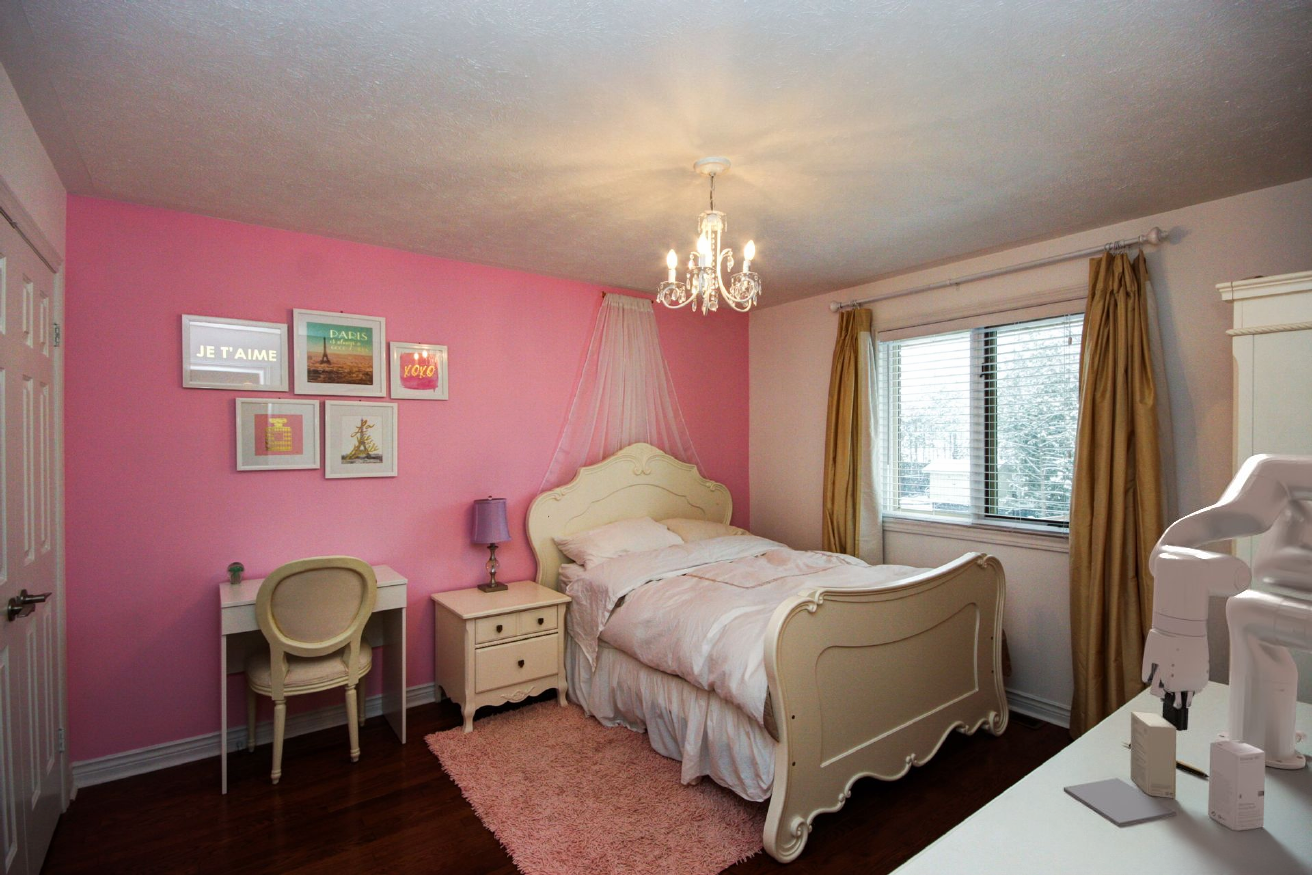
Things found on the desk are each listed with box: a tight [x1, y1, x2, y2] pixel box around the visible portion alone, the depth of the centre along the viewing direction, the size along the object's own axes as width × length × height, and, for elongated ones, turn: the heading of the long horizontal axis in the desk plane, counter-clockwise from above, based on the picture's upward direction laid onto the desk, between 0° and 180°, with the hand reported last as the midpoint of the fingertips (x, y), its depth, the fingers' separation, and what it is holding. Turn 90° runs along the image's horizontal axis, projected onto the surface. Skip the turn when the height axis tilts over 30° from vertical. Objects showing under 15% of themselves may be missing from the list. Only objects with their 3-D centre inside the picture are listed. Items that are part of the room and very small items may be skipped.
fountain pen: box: [1121, 741, 1209, 779], centre depth 121 cm, size 14×1×2 cm, turn 29°
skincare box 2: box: [1207, 740, 1266, 831], centre depth 102 cm, size 6×4×12 cm
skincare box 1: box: [1129, 710, 1177, 799], centre depth 112 cm, size 6×4×12 cm
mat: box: [1063, 777, 1177, 827], centre depth 107 cm, size 12×10×1 cm
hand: (1174, 726), depth 113 cm, fingers closed
